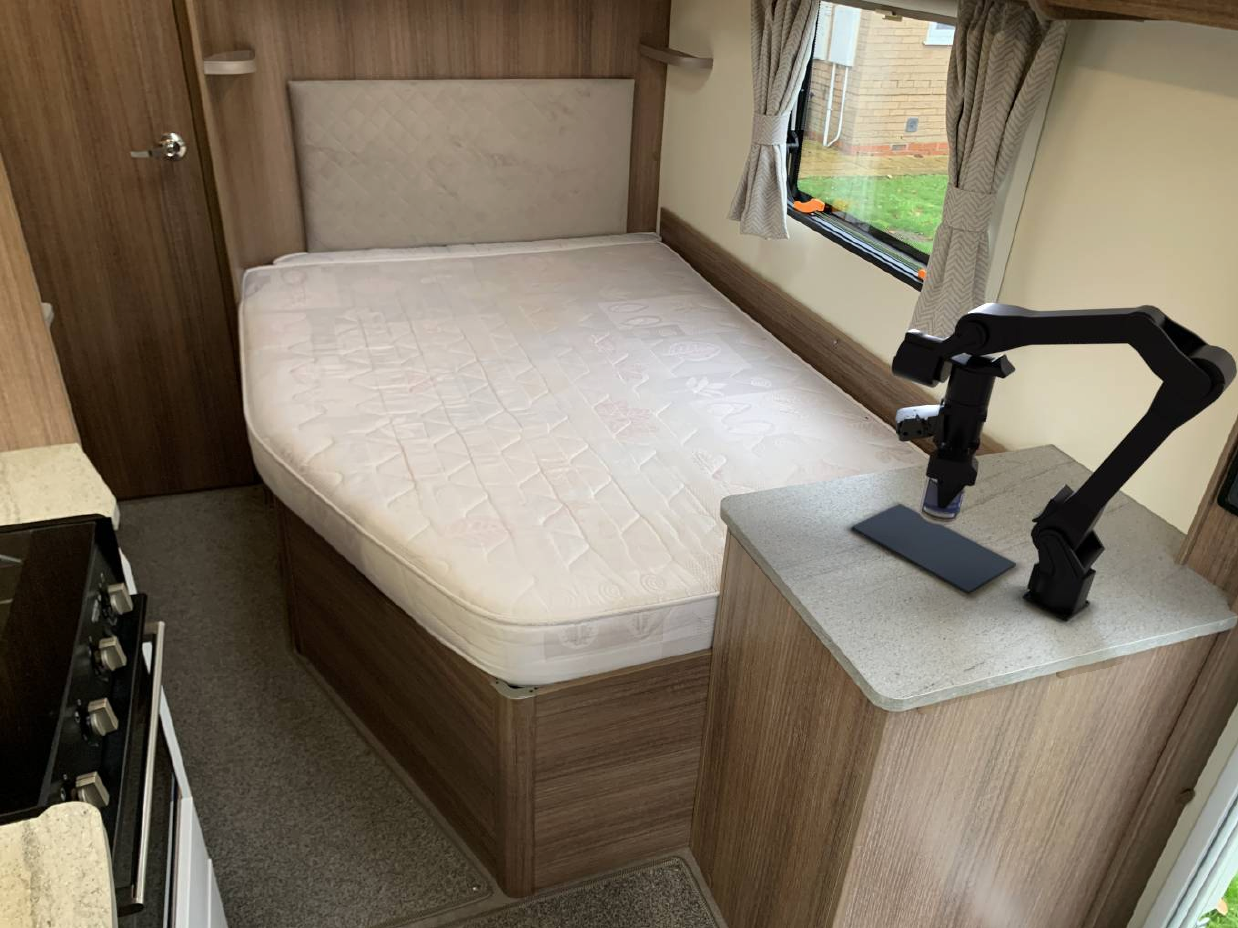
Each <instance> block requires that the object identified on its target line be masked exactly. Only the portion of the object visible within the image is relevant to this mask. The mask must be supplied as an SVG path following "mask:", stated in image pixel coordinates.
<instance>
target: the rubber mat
mask: <svg viewBox="0 0 1238 928" xmlns="http://www.w3.org/2000/svg"><path fill="white" fill-rule="evenodd" d="M851 530H852V531H854V532H855V533H857V534H859V535H861V536H862V537H864V538H866V539H867V540H869V541H871V542H873V543H875V544H877V545H878V546H881V547H882V548H884V549H886V550H888V551H889V552H891V553H892V554H894V555H896V556H898V557H900V558H902V559H904V560H906V561H907V562H909V563H910V564H913V565H914V566H916V567H918V568H920V569H921V570H923V571H925V572H926V573H929V574H930V575H932V576H934V577H935V578H937V579H939V580H941V581H943V582H945V583H947V584H948V585H950V586H951V587H954V588H955V589H957V590H959V591H961V592H963V593H964V594H966V595H970V594H972V593H973V592H975V591H977V590H978V589H980V588H982V587H983V586H985V585H987V584H988V583H990V582H992V581H993V580H995V579H997V578H998V577H1000V576H1001V575H1003V574H1005V573H1006V572H1008V571H1009V570H1011V569H1013V568H1014V567H1016V565H1017V563H1016V562H1014V561H1012V560H1010V559H1008V558H1006V557H1004V556H1003V555H1001V554H998V553H997V552H995V551H993V550H991V549H989V548H987V547H985V546H983V545H981V544H979V543H977V542H975V541H973V540H972V539H970V538H968V537H966V536H964V535H962V534H960V533H958V532H956V531H954V530H952V529H951V528H948V527H946V526H945V525H938V524H933V523H931V522H928V521H927V520H925V519H924V518H923V517H922V516H921V515H920V513H919V512H917V511H915V510H913V509H911V508H909V507H907V506H906V505H903V504H902V503H898V504H897V505H894V506H892V507H890V508H888V509H886V510H884V511H882V512H879V513H878V514H875V515H874V516H871V517H869V518H867V519H865V520H862V521H861V522H859V523H857V524H854V525H852V526H851Z"/></svg>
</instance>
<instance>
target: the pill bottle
mask: <svg viewBox="0 0 1238 928" xmlns="http://www.w3.org/2000/svg"><path fill="white" fill-rule="evenodd" d="M966 490H967V486H966V487H965V488H964V489H963V490H962V491H961V492H960V493H959V494H958V495H957V496H956V497H955V498H954V500H953V501H952V502H951V503H950V504H949V505H948V506H947V508H946V509H942V508H938V507H937V479H932V478H929V477H927V476H926V479H925V483H924V489H923V492H922V496H921V499H920V500H921V501H920V505H919V510H918V513H919V514H920V515H921V516H922V517H923V518H924V519H925V520H927V521H928V522H931V523H933V524H938V525H942V526H950V525H954V524H955V523H957V521H958V519H959V516H960V513H961V508H962V504H963V501H964V497H965V492H966Z"/></svg>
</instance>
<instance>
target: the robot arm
mask: <svg viewBox="0 0 1238 928" xmlns="http://www.w3.org/2000/svg"><path fill="white" fill-rule="evenodd" d="M954 326H955V327H954V332H953V333H952V334H951V335H950V336H948V337H945V338H942V337H941V338H940V337H937V336H934V335H930V334H927V333H925V332H923V331H921V330H918V329H915V328H912V329H909V330H908V331H906V332H905V333H904V339H903V340H902V342H901V343H900V345H899V346H898V348H897V350H896V353H895V355H894V356H893V357H892V362H891V373H892V375H893V376H894V377H897V378H900V379H902V380H907V381H910V382H912V383H914V384H915V383H916V384H919V385H921V386H925V387H928V388H930V389H933V388H936V387H937V386H938V385H939V384H944V383H946V382H947V385H946V389H945V393H944V396H941V399H940V404H934V405H933V404H931V405H930V404H926V405H917V406H909V407H903V408H900V409H898V410H897V412H896V415H895V418H894V421H895V427H896V430H895V434H896V435H897V437H898V441H899V442H904V443H905V442H910V441H915V440H921V439H928V438H932V441H931V443H933V444H934V446H935V447H936V449H934V450H932V451H930V453H929V457H928V461H927V465H926V466H927V467H926V471H925V476H926V478H927V477H929V478H932V479H937V507H938V508H942V509H946V508H947V506H948V505H949V504H950V503H951V502H952V501H953V500H954V498H955V497H956V496H957V495H958V494H959V493H960V492H961V491H962V490H963V489H964V488H965V487H966V488H967V487H974V486H975V484H976V481H977V477H978V473H979V463H980V462H979V460H978V459H977V457H975V453H976V452H977V451H979V449H980V446H981V440H982V439H981V438H982V433H983V430H984V425H985V423H987V419H988V413H989V412H988V411H989V405H990V401H991V399H992V394H993V390H994V386H995V383H996V379H997V378H999V379H1006V378H1007V377H1009V376H1011V375H1012V374H1013V373H1016V367H1015V366H1014V365H1013V363H1012V362H1011V361H1010V360H1009V358H1008V356H1007V354H1005V353H1004V352H1008V351H1011V350H1015V349H1019V348H1023V347H1029V346H1055V345H1056V346H1059V345H1061V346H1063V345H1064V346H1065V345H1067V346H1068V345H1121V344H1122V345H1125V344H1127V345H1129V346H1130V347H1131V348H1133V350H1135V351H1136V352H1137V354H1138V355H1139V356H1140V358H1141V359H1142V360H1143V361H1144V364H1145V365H1147V367H1148V368H1149V370H1150V371H1151V372H1152V373H1153V374H1154V375H1155V376H1156V377H1157V378H1159V380H1161V381H1162V383H1161V385H1160V386H1159V387H1158V389H1157V390H1156V393H1155V396H1154V397H1153V398H1152V401H1151V403H1150V405H1149V407H1148V409H1147V411H1145V412H1146V413H1144V415H1143V416H1142V417H1141V418H1140V419H1139V421H1137V423H1136V424H1135V425H1134V426H1133V427H1132V428H1131V430H1129V432H1127V434H1126V435H1125V436H1124V437H1123V438H1122V440H1121V441H1119V443H1118V444H1117V445H1116V446H1115V448H1114V449H1113V450H1112V451H1111V452H1110V453H1109V454H1108V456H1107V457H1106V458H1105V459H1104V460H1103V462H1101V463H1100V465H1099V466H1098V467H1097V468H1096V469H1095V470H1094V471H1093V473H1092V474H1091V475H1090V476H1089V477H1088V478H1087V480H1086V481H1084V483H1083V484H1082V485H1080V486H1079V487H1078V488H1076V489H1075V490H1073V489H1072V488H1071V487H1070V486H1069V485H1068V484H1066V483H1064V485H1063V486H1062V487H1061V488H1060V489H1059V490H1058V491H1057V492H1056V493H1055V494H1054V495H1053V496H1052V497H1051V498H1050V499H1049V501H1048V502H1047V504H1046V505H1045V506H1044V507H1043V508H1042V509H1041V510H1040V511H1039V512H1038V513H1037V514H1036V515H1035V516H1034V517H1033V518H1032V519H1031V522H1032V523H1035V524H1034V525H1033V526H1032V529H1031V530H1030V537H1031V541H1032V544H1033V546H1034V547H1035V549H1036V550H1037V557H1038V561H1037V562H1035V563H1033V567H1032V570H1031V573H1030V576H1029V579H1028V582H1027V586H1026V588H1027V591H1025V592H1024V593H1023V594H1022V600H1025V601H1026V602H1028V603H1030V604H1032V605H1033V606H1036V607H1038V608H1040V609H1041V610H1043V611H1045V612H1046V613H1048V614H1050V615H1052V616H1054V617H1056V618H1057V619H1060V620H1062V621H1064V622H1068V621H1070V620H1072V619H1073V618H1074V617H1076V616H1077V615H1078V614H1080V613H1081V612H1083V611H1085V609H1087V608H1088V607H1090V605H1091V602H1090V600H1088V596H1089V593H1090V590H1091V588H1092V585H1093V582H1094V580H1095V576H1096V574H1097V570H1095V569H1093V568H1092V566H1093V565H1094V564H1095V562H1097V560H1098V559H1099V558H1100V556H1102V554H1103V553H1104V551H1105V550H1106V548H1105V546H1104V544H1103V542H1102V540H1101V539H1100V537H1099V536H1098V534H1097V533H1096V531H1095V529H1094V528H1095V527H1096V525H1097V523H1098V522H1099V521H1100V518H1101V517H1102V515H1103V513H1104V510H1105V509H1106V507H1107V504H1108V503H1109V502H1110V501H1111V500H1112V498H1113V497H1115V496H1116V494H1117V493H1118V492H1119V491H1120V490H1121V489H1122V488H1123V486H1124V485H1125V484H1127V482H1128V481H1129V480H1130V479H1131V478H1132V477H1133V475H1135V474H1136V472H1138V470H1139V469H1140V468H1141V467H1142V466H1143V465H1144V464H1145V463H1146V461H1147V460H1148V459H1149V458H1150V457H1151V456H1152V455H1153V454H1154V453H1155V452H1156V451H1157V450H1158V449H1159V447H1160V446H1161V445H1162V444H1163V443H1164V442H1165V441H1166V440H1167V439H1168V438H1169V437H1170V436H1171V434H1173V433H1174V432H1175V431H1176V430H1178V428H1180V427H1182V426H1183V425H1185V424H1186V423H1188V422H1189V421H1191V420H1192V419H1194V418H1195V417H1196V416H1198V415H1199V414H1201V413H1202V412H1203V411H1204V410H1206V409H1207V408H1208V407H1211V405H1212V404H1214V403H1215V402H1216V401H1218V400H1219V398H1220V397H1221V396H1222V395H1223V393H1224V392H1225V391H1227V389H1228V388H1229V387H1230V385H1232V383H1233V382H1234V380H1235V379H1236V377H1237V373H1238V369H1237V362H1236V360H1235V358H1234V356H1233V355H1232V354H1231V353H1230V352H1229V351H1228V350H1226V349H1224V348H1223V347H1220V346H1218V345H1211V344H1209V343H1208V342H1207V341H1206V340H1204V338H1202V337H1201V336H1200V335H1199V334H1197V333H1196V332H1194V331H1193V330H1191V329H1189V328H1187V327H1185V326H1183V325H1182V324H1180V323H1178V322H1177V321H1175V320H1173V319H1172V318H1170V317H1169V316H1168V315H1167V314H1166V313H1165V312H1164V311H1162V310H1161V309H1160V308H1158V307H1157V306H1155V305H1151V304H1143V305H1140V306H1134V307H1113V308H1112V307H1111V308H1109V307H1108V308H1083V309H1061V310H1059V309H1058V310H1035V309H1029V308H1026V307H1023V306H1019V305H1015V304H1014V305H1013V304H1008V303H1007V304H1005V303H999V302H989V303H984V304H983V305H980V306H978V307H976V308H975V309H972V310H971V311H969V312H967V313H965V314H963V315H962V316H961V317H960V318H959V319H958V320H957V322H956V324H955V325H954ZM998 353H1003V354H1001V355H1000V356H998V357H993V356H990V355H994V354H998ZM947 380H948V381H947Z"/></svg>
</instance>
